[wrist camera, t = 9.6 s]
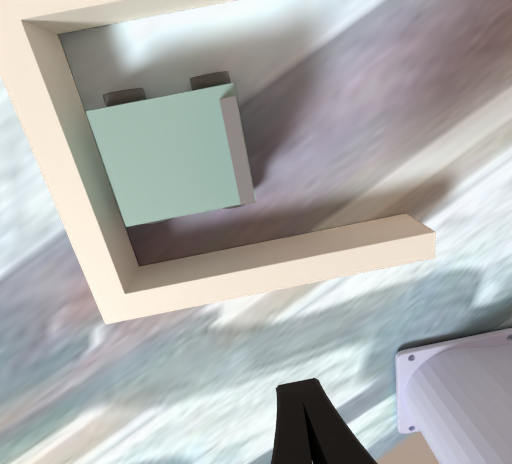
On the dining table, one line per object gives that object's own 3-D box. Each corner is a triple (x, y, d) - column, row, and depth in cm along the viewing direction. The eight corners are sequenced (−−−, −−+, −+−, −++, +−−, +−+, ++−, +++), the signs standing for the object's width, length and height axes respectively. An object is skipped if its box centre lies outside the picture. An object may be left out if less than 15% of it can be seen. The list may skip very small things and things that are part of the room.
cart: (229, 72, 16) (232, 61, 12) (252, 193, 19) (262, 227, 14) (108, 96, 16) (58, 94, 11) (146, 215, 19) (118, 256, 14)
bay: (403, -72, 15) (444, -111, 12) (406, 236, 21) (434, 258, 18) (9, 1, 15) (-41, -22, 12) (121, 293, 20) (105, 324, 17)
